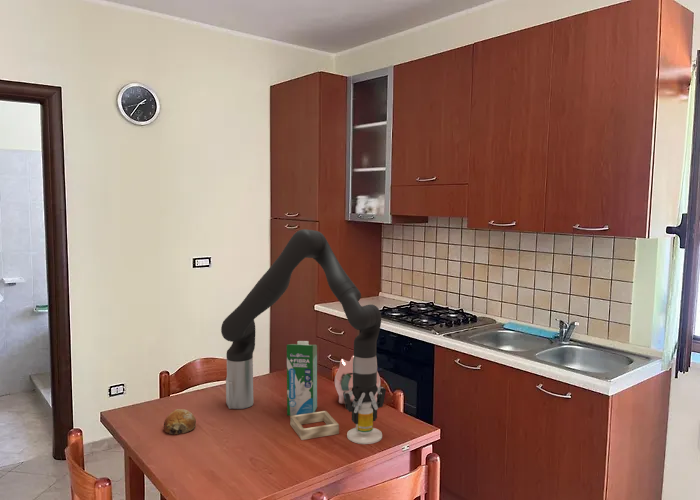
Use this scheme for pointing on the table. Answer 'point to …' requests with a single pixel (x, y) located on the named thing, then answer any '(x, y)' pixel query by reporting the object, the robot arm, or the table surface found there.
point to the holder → (317, 431)
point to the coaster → (364, 436)
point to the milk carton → (301, 378)
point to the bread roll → (179, 422)
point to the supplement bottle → (365, 418)
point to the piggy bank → (347, 379)
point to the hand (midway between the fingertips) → (364, 421)
